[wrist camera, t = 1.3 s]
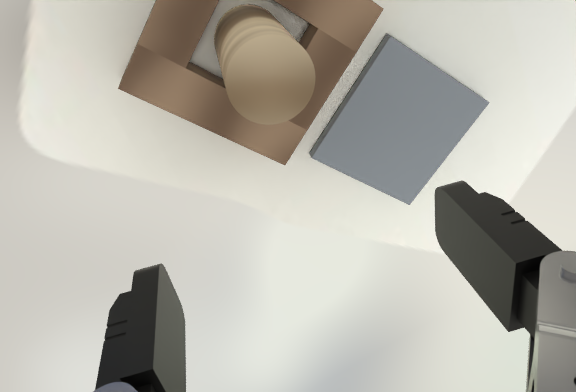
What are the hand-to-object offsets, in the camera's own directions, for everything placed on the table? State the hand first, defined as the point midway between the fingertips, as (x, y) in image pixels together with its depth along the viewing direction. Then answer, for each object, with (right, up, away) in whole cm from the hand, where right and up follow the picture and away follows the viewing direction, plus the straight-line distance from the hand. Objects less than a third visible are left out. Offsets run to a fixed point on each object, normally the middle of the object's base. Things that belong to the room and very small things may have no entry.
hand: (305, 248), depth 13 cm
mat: (+8, +7, +22) cm, 24 cm away
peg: (-3, +12, +16) cm, 20 cm away
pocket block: (-3, +12, +16) cm, 20 cm away
